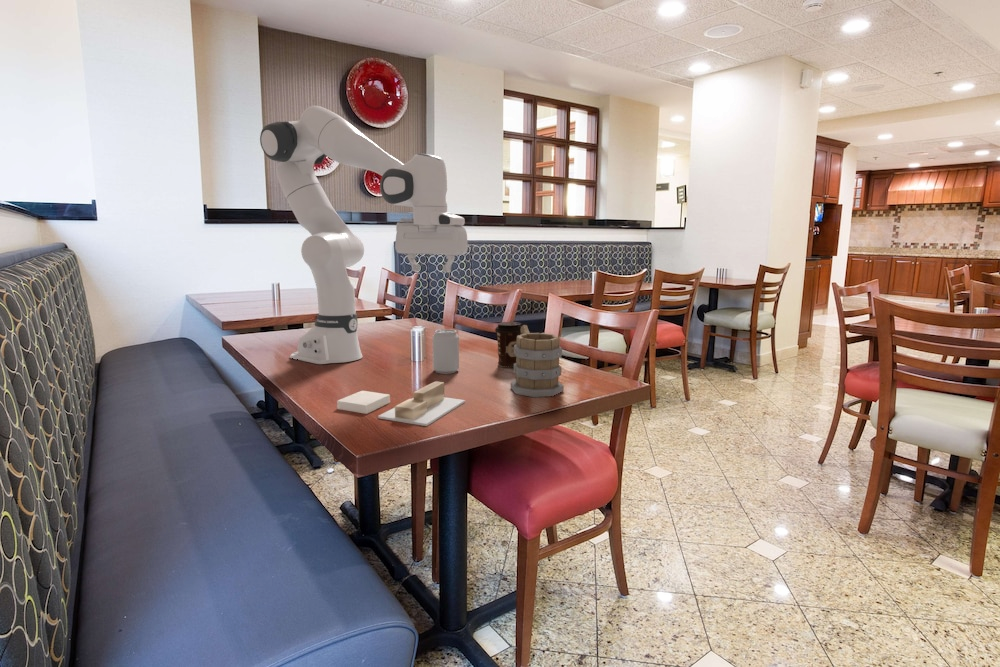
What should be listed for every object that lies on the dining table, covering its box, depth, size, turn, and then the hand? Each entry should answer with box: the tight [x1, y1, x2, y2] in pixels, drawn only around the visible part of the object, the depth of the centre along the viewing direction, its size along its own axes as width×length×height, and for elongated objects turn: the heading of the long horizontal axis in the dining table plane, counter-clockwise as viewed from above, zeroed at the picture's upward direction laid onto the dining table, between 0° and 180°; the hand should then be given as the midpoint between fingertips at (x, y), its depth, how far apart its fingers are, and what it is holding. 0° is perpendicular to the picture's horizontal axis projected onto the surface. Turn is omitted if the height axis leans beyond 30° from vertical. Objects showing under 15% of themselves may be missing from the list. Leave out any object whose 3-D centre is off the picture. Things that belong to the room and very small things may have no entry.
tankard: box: [510, 324, 565, 398], centre depth 143 cm, size 20×13×15 cm, turn 11°
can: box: [432, 328, 460, 375], centre depth 158 cm, size 8×8×12 cm
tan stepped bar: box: [394, 380, 445, 420], centre depth 124 cm, size 4×16×4 cm, turn 158°
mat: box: [377, 396, 466, 427], centre depth 124 cm, size 12×18×1 cm, turn 157°
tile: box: [336, 390, 391, 415], centre depth 127 cm, size 8×2×9 cm
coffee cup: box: [494, 321, 523, 368], centre depth 165 cm, size 9×8×13 cm
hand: (431, 271), depth 146 cm, fingers open, 8 cm apart
